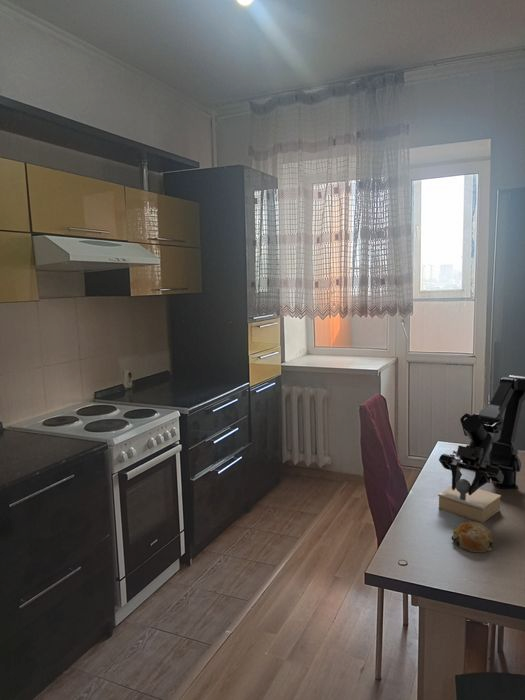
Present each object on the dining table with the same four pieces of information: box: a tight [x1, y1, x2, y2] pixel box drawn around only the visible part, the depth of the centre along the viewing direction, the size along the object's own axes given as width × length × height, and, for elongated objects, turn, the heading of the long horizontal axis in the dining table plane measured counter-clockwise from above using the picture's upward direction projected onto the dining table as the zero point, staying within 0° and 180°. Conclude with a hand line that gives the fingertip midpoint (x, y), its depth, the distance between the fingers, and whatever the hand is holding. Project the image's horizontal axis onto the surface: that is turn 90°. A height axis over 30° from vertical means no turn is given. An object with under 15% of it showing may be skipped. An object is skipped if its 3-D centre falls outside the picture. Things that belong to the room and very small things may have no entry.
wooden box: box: [438, 496, 501, 524], centre depth 162 cm, size 12×14×4 cm
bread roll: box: [451, 521, 494, 554], centre depth 141 cm, size 10×10×8 cm
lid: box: [437, 478, 502, 510], centre depth 161 cm, size 13×14×7 cm
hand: (460, 492), depth 158 cm, fingers open, 5 cm apart
